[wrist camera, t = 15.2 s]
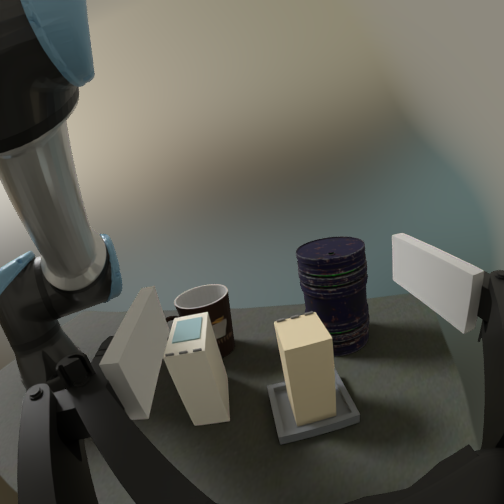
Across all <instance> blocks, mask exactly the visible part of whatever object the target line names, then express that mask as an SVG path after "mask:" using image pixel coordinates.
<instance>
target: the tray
mask: <svg viewBox="0 0 504 504" xmlns="http://www.w3.org/2000/svg"><path fill="white" fill-rule="evenodd" d="M334 371H335V391H336V416H333V417H330V418H327V419H324V420H320V421H317V422H313V423H309V424H306V425H302V426H298V427H297V424H296V421H295V418H294V414H293V411H292V408H291V405H290V401H289V398H288V394H287V389H286V383H285V382H281V383H277V384H273V385H268V386H267V389H268V393H269V398H270V402H271V407H272V411H273V416H274V420H275V425H276V429H277V434H278V438H279V442H280V445H281V444H286V443H290V442H294V441H298V440H302V439H306V438H310V437H314V436H317V435H321V434H324V433H328V432H331V431H334V430H337V429H341V428H344V427H347V426H350V425H353V424H356V423H359V422H360V413H359V411H358V409H357V408H356V406H355V404H354V402H353V400H352V398H351V397H350V395H349V393H348V391H347V389H346V388H345V386H344V384H343V382H342V380H341V378H340V377H339V375H338V373H337V371H336V369H335V368H334Z"/></svg>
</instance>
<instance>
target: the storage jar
mask: <svg viewBox="0 0 504 504" xmlns="http://www.w3.org/2000/svg"><path fill="white" fill-rule="evenodd" d="M364 251H365V244H364V242H363V241H362V240H361V239H358V238H353V237H329V238H323V239H318V240H314V241H311V242H308V243H306V244H303V245H301V246H300V247H299V248H298V249H297V250H296V256H297V259H298V261H297V262H298V274H299V278H300V286H301V289H302V291H303V292H304V299H305V306H306V309H305V313H307V312H311V311H313V312H316V314H317V315H318V317H319V318H320V320H321V322H322V323H323V325H324V326H325V328H326V329H327V331H328V332H329V334H330V335H331V337H332V341H333V355H334V356H343V355H348V354H351V353H354V352H356V351H358V350H360V349H361V348H362V347H363V346H364V345H365V344H366V343H367V341H368V338H369V331H368V329H369V313H368V304H367V299H366V283H367V277H368V276H367V261H366V256H365V252H364Z"/></svg>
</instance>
